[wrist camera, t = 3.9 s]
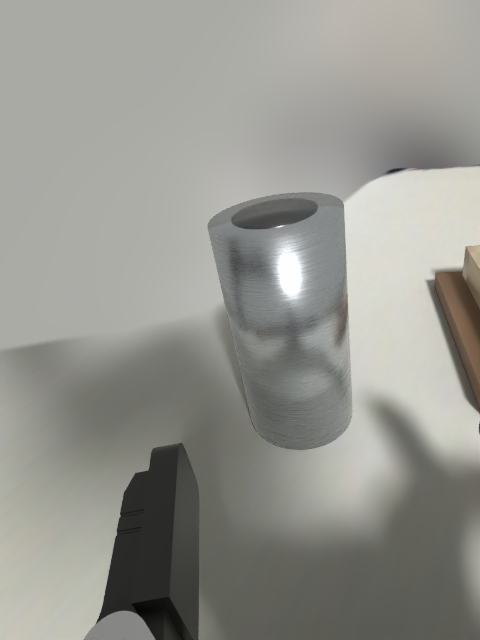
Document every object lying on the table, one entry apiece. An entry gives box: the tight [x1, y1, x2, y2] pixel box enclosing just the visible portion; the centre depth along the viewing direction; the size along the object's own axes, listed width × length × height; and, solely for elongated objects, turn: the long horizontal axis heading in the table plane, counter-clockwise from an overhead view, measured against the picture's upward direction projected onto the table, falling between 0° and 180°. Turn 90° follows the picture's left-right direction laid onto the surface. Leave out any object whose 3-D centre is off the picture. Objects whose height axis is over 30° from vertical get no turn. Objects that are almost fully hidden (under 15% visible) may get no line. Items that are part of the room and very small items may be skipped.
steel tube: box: [208, 192, 352, 450], centre depth 17 cm, size 5×5×10 cm
